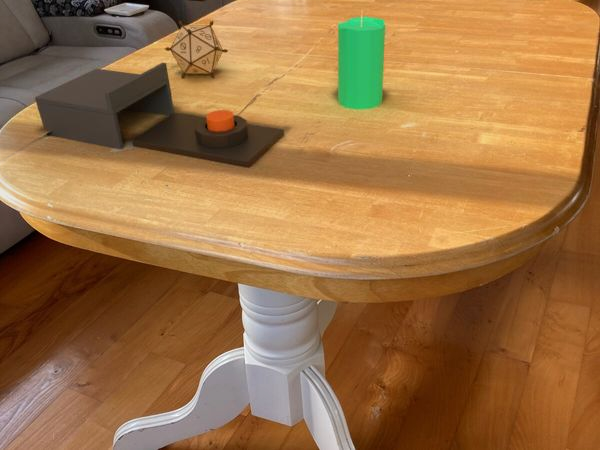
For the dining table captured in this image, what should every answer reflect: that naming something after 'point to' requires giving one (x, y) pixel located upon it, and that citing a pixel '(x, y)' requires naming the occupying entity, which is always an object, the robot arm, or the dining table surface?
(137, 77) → the cover
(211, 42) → the game die
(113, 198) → the dining table surface
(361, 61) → the candle
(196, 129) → the dark grey button base
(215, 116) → the orange button cap
